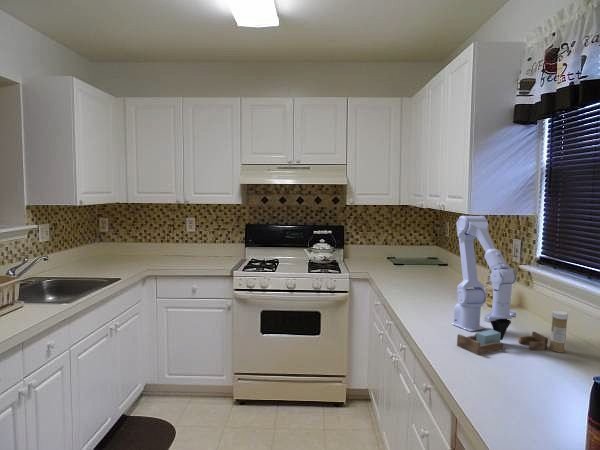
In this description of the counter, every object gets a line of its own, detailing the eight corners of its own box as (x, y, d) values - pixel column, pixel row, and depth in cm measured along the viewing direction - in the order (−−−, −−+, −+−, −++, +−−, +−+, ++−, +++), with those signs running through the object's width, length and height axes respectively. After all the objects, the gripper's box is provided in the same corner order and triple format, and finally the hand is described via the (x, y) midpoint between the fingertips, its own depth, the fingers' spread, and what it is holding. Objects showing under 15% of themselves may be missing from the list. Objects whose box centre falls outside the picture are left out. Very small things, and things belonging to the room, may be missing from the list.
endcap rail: (454, 344, 146) (454, 333, 145) (476, 339, 151) (477, 328, 151) (480, 356, 136) (481, 344, 136) (503, 350, 141) (504, 339, 141)
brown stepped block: (530, 350, 142) (531, 338, 142) (518, 343, 149) (519, 332, 148) (547, 349, 143) (547, 338, 143) (534, 342, 150) (534, 331, 149)
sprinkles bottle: (551, 346, 146) (554, 309, 145) (566, 350, 143) (569, 312, 142) (547, 350, 143) (551, 311, 141) (563, 353, 140) (566, 314, 138)
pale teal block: (476, 345, 146) (476, 332, 145) (491, 341, 149) (492, 329, 149) (484, 348, 142) (485, 336, 142) (499, 345, 146) (500, 332, 146)
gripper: (497, 307, 140) (495, 346, 141) (525, 302, 147) (522, 339, 148) (480, 301, 146) (477, 339, 148) (507, 297, 153) (504, 333, 154)
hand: (498, 339), depth 148 cm, fingers closed
